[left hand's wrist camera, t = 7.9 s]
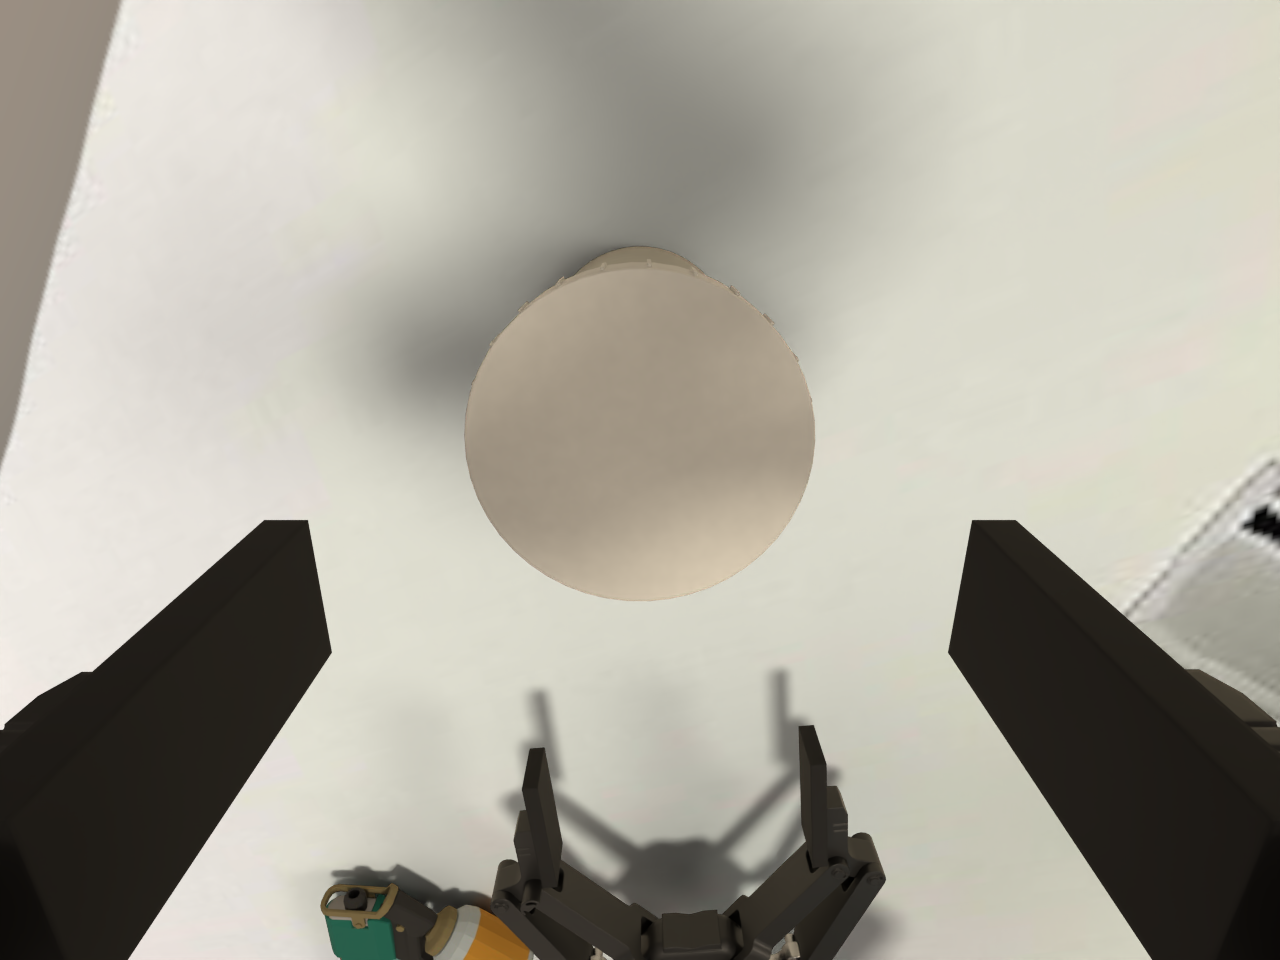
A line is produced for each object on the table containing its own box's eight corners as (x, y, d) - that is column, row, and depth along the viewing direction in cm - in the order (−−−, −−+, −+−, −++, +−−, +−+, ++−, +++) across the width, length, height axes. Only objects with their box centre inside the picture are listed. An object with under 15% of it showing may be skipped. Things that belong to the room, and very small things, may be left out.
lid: (406, 410, 22) (386, 429, 20) (660, 179, 19) (662, 179, 18) (622, 626, 24) (620, 659, 23) (868, 446, 22) (887, 468, 20)
